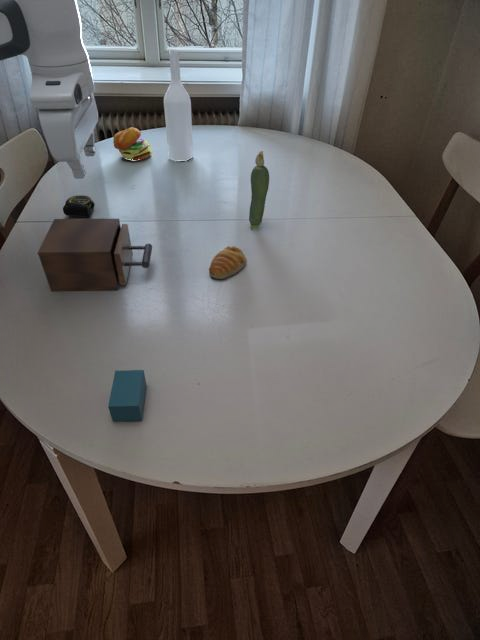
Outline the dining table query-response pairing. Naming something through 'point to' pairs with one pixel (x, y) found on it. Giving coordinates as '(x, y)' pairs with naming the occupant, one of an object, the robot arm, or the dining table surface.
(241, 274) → the dining table surface
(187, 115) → the bottle
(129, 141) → the cheeseburger
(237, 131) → the dining table surface
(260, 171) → the vegetable
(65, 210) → the tape measure
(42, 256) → the cabinet
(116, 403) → the teal block
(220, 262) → the pastry
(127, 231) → the drawer
